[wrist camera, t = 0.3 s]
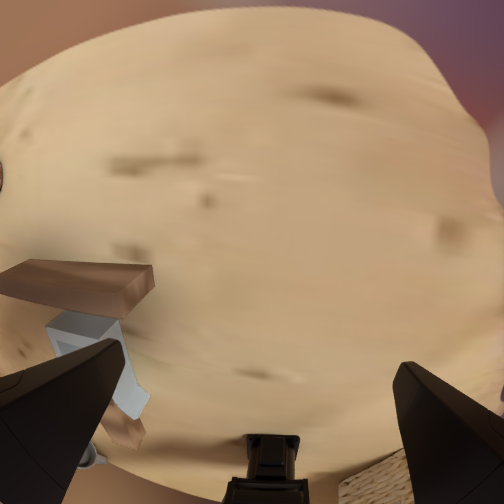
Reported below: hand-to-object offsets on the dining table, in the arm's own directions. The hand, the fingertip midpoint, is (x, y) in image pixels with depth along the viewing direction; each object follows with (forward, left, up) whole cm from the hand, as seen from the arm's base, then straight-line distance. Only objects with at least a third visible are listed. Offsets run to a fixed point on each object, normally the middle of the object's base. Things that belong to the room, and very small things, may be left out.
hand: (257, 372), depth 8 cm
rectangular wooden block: (-23, +19, -15) cm, 33 cm away
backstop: (-3, +19, -14) cm, 24 cm away
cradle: (-14, +19, -14) cm, 28 cm away
